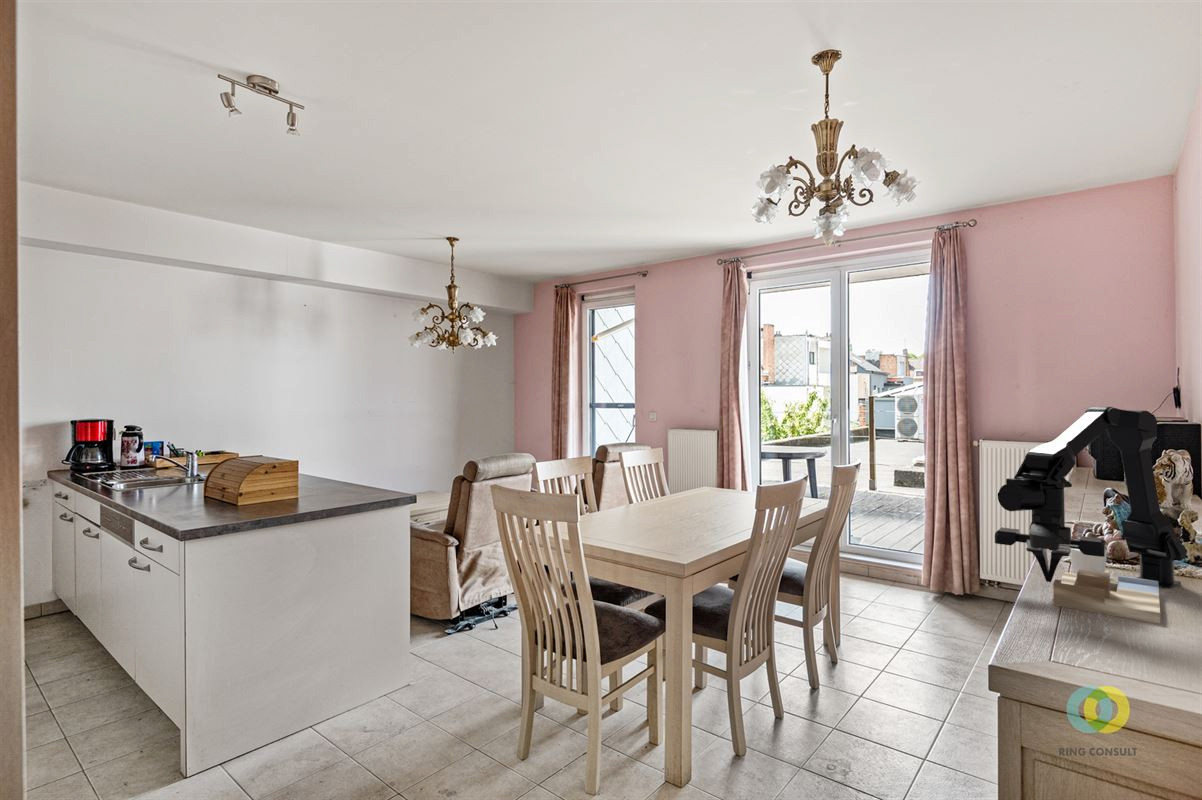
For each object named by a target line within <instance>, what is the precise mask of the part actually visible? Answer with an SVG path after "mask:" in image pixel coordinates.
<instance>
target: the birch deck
mask: <svg viewBox="0 0 1202 800" xmlns="http://www.w3.org/2000/svg"><path fill="white" fill-rule="evenodd" d="M1117 587H1118V579H1115V578H1110V596H1109V599H1108V598H1105V591H1104V590H1103V589H1096V588H1090V587H1083V586H1077V574H1074V573H1072V572H1066V571H1065V572H1063V574H1062V576H1061V578H1060V579H1054V581H1053V587H1052V588H1053V593H1052V594H1053V606H1055V607H1056V606H1057V607H1062V608H1067V609H1073V610H1079V611H1084V612H1085V611H1086V612H1090V613H1091V612H1092V613H1096V614H1101V615H1107V616H1108V615H1109V616H1113V617H1119V618H1126V619H1129V620H1130V619H1132V620H1136V621H1143V622H1148V623H1153V624H1158V625H1160V624H1161V608H1160V607H1161V606H1160V605H1161V604H1160V593H1159V594H1156V593H1149V592H1142V591H1136V590H1129V589H1122V588H1117Z"/></svg>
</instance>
